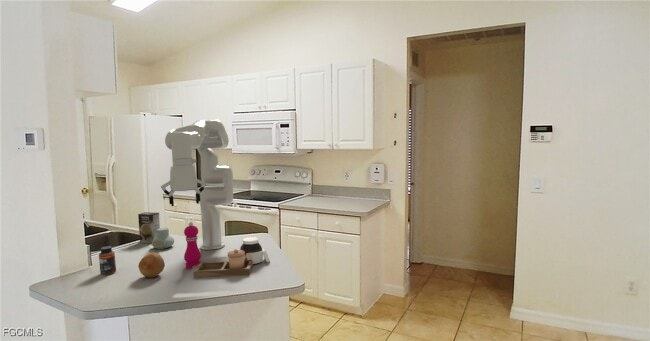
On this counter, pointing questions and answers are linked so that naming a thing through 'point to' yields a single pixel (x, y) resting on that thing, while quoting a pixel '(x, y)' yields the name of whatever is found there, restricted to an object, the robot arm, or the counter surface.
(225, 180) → the robot arm
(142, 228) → the coffee box
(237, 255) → the salt crock
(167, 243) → the air freshener
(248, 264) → the caddy
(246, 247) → the spread jar
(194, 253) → the pepper mill
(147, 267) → the onion
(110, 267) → the supplement bottle
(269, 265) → the counter surface
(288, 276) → the counter surface
